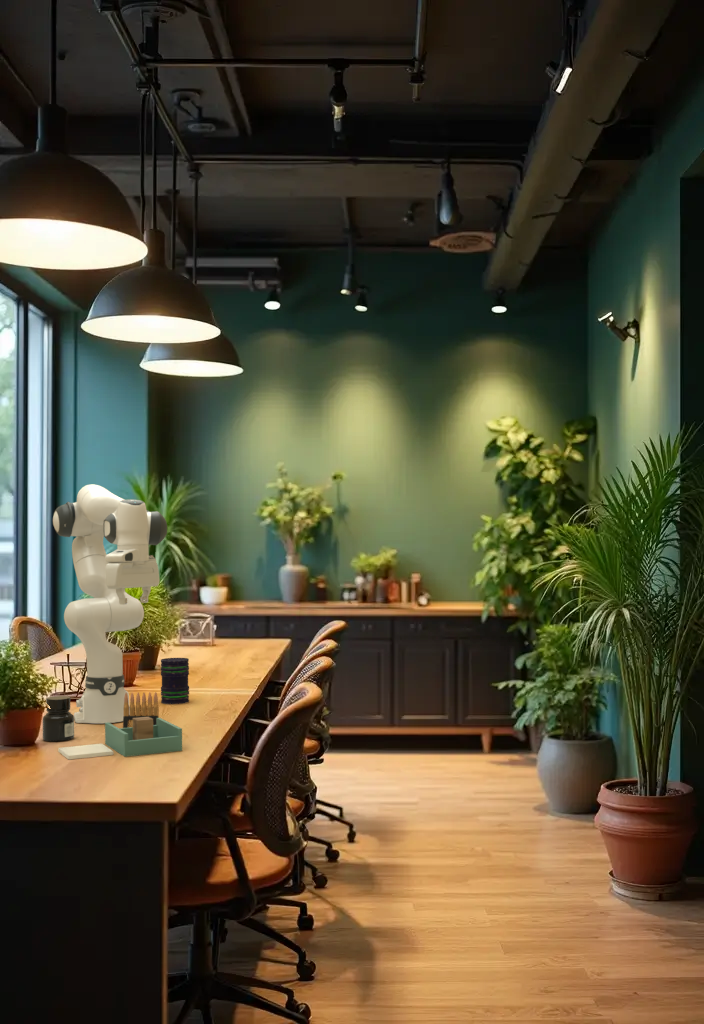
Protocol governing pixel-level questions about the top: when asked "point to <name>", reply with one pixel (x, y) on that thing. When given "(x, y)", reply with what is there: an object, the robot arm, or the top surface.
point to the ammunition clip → (140, 709)
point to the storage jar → (174, 680)
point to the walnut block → (142, 728)
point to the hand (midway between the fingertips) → (133, 603)
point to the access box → (163, 739)
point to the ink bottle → (58, 720)
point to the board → (85, 751)
